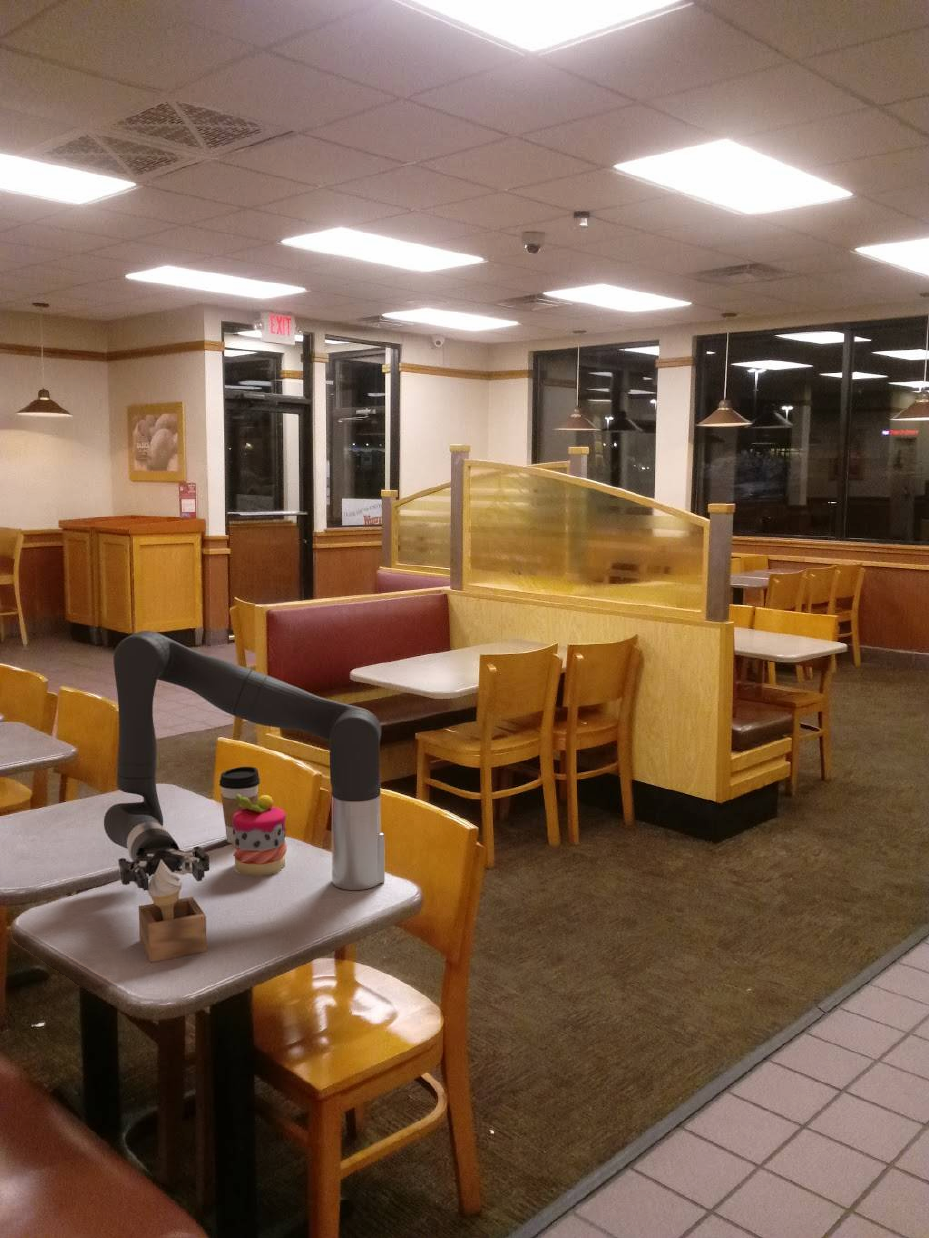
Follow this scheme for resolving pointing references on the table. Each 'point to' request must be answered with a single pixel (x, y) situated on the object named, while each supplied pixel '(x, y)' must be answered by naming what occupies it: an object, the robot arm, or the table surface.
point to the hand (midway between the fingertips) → (173, 879)
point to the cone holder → (172, 930)
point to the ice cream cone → (165, 890)
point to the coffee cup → (237, 793)
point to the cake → (259, 837)
